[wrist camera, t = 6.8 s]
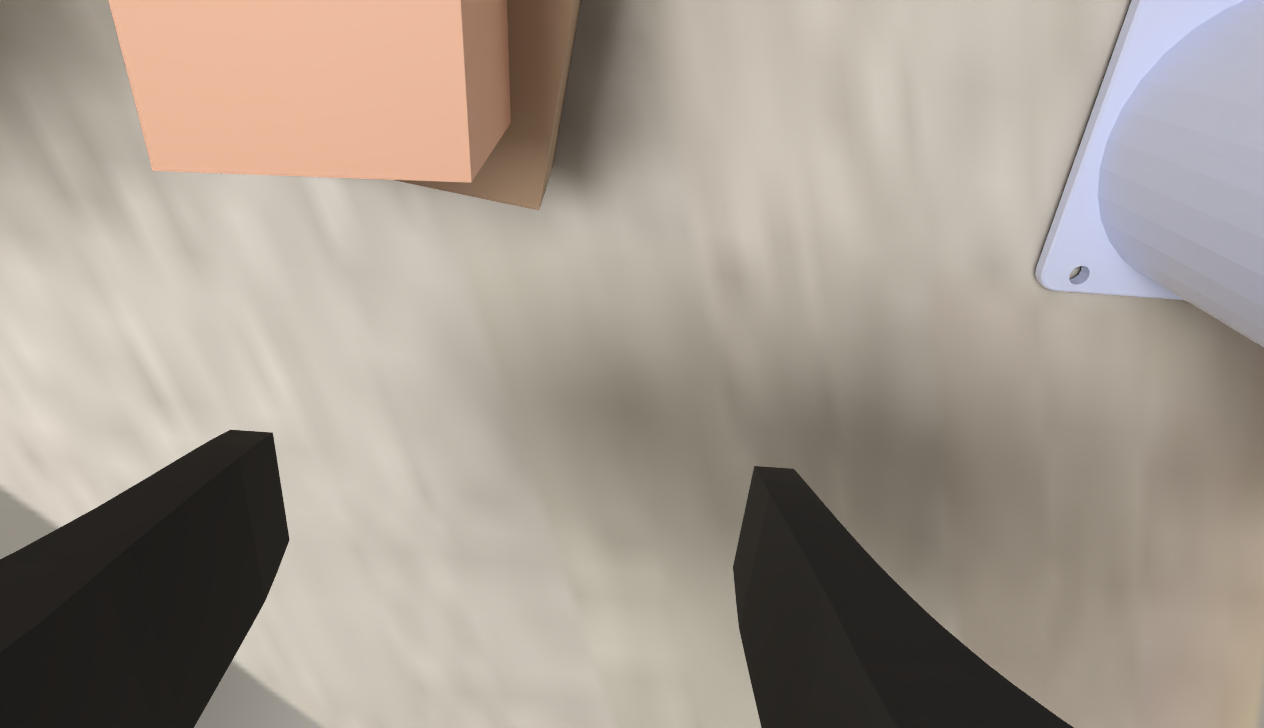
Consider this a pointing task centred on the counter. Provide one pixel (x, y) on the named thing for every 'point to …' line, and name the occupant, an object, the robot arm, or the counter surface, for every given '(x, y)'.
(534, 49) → the walnut block
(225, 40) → the terracotta block
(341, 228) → the counter surface
